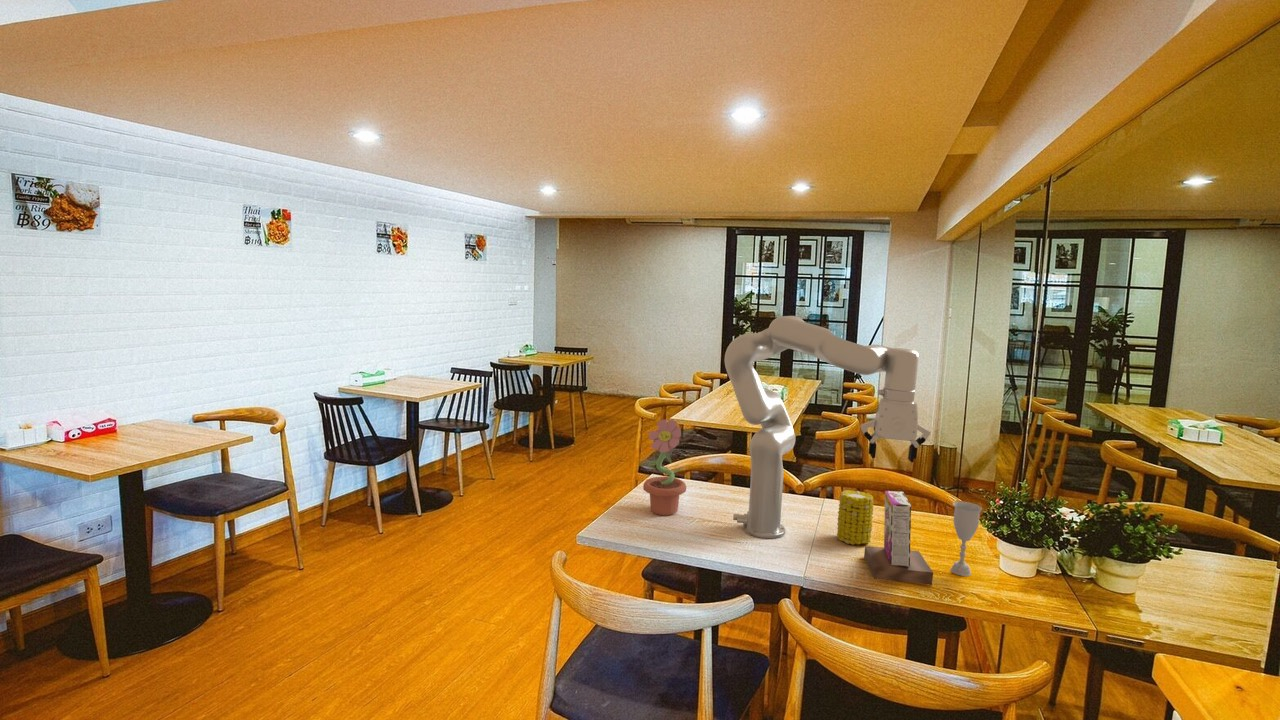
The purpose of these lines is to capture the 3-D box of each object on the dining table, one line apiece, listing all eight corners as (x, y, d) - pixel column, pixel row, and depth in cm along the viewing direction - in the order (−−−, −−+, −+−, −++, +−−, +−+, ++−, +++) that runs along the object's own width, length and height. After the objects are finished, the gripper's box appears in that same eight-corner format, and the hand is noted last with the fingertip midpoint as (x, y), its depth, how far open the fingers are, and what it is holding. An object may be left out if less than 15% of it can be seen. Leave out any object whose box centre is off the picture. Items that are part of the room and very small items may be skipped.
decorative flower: (631, 511, 200) (634, 420, 196) (654, 500, 211) (658, 413, 208) (670, 523, 192) (674, 427, 188) (693, 510, 203) (697, 420, 199)
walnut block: (873, 581, 159) (875, 566, 159) (863, 559, 172) (865, 545, 171) (931, 587, 157) (933, 572, 157) (917, 565, 170) (918, 551, 169)
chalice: (974, 580, 160) (981, 513, 158) (945, 573, 164) (951, 507, 162) (976, 570, 166) (983, 505, 164) (948, 563, 170) (954, 499, 168)
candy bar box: (882, 548, 170) (884, 490, 168) (902, 550, 169) (903, 491, 167) (889, 566, 159) (891, 503, 157) (910, 567, 158) (912, 504, 156)
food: (837, 549, 181) (840, 538, 190) (879, 547, 176) (881, 536, 185) (828, 496, 181) (832, 488, 190) (871, 494, 176) (872, 485, 185)
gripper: (866, 395, 161) (859, 459, 164) (937, 401, 158) (929, 466, 160) (861, 390, 169) (855, 451, 171) (930, 396, 166) (922, 458, 168)
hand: (891, 458), depth 166 cm, fingers open, 9 cm apart
